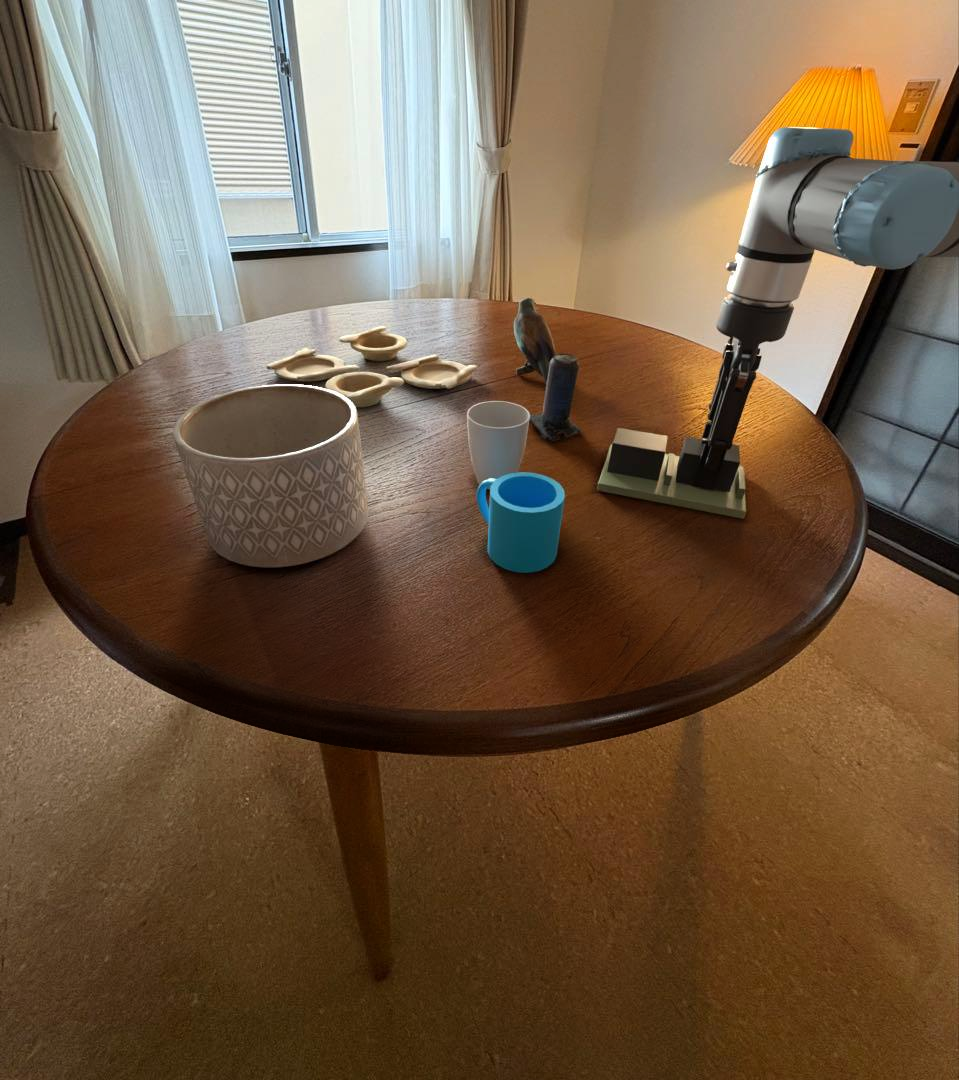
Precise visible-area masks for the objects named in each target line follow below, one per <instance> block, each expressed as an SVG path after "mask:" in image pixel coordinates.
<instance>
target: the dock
mask: <svg viewBox="0 0 959 1080" xmlns="http://www.w3.org/2000/svg"><path fill="white" fill-rule="evenodd" d="M668 439H669V436H668V435H665V434H664V435H663V434H658V433H653V432H645V431H640V430H633V429H628V428H621V427H617V428H616V431H615V435H614V437H613V440H612V444H610V446H609V448H608V452H607V455H606V458H605V461H604V464H603V467H602V470H601V474H600V475H599V476H600V477H599V480H598V482H597V487H596V491H599V492H603V493H608V494H613V495H619V496H623V497H629V498H634V499H639V500H645V501H650V502H655V503H659V504H665V505H670V506H674V507H675V506H676V507H680V508H685V509H690V510H695V511H699V512H700V511H701V512H705V513H712V514H716V515H722V516H727V517H730V518H731V517H732V518H736V519H742V520H743V519H745V517H746V513H747V503H746V491H747V488H746V475H745V474H746V473H745V466H744V465H741V464H740V465H739V467H738V470H737V473H736V476H735V479H734V481H733V484H732V487H731V490H730V492H727V491H721V490H716V489H714V490H710V489H705V488H699V487H694V486H692V485H689V484H684V483H679V482H676V474H677V465H678V461H679V458H680V455H675V453H671V452H669V453H668V454H667V446H668Z"/></svg>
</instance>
